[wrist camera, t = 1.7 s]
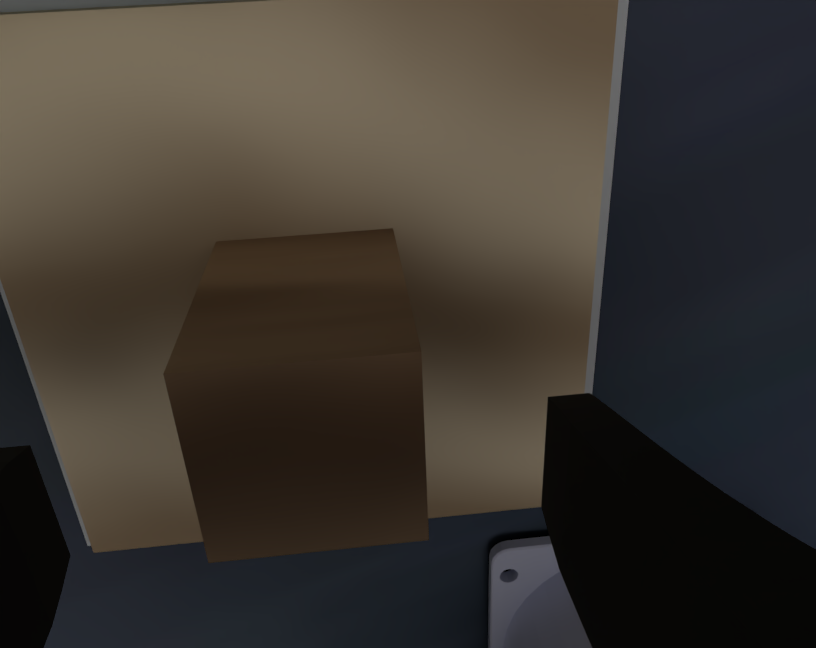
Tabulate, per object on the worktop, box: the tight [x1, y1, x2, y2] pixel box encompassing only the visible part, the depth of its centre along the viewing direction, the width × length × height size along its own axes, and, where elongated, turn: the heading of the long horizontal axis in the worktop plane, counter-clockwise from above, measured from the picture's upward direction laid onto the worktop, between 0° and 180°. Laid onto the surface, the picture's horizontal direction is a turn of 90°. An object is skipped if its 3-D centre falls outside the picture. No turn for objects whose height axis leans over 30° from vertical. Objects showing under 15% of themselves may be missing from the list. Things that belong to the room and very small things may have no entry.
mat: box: [0, 0, 629, 546], centre depth 16 cm, size 13×13×1 cm
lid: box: [0, 0, 618, 563], centre depth 13 cm, size 12×12×6 cm
